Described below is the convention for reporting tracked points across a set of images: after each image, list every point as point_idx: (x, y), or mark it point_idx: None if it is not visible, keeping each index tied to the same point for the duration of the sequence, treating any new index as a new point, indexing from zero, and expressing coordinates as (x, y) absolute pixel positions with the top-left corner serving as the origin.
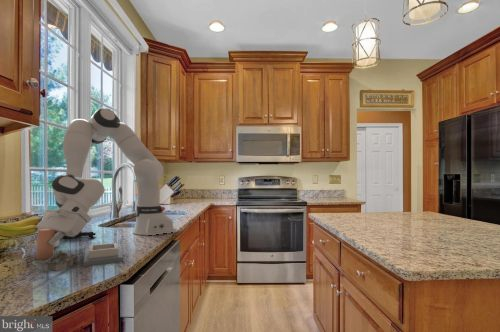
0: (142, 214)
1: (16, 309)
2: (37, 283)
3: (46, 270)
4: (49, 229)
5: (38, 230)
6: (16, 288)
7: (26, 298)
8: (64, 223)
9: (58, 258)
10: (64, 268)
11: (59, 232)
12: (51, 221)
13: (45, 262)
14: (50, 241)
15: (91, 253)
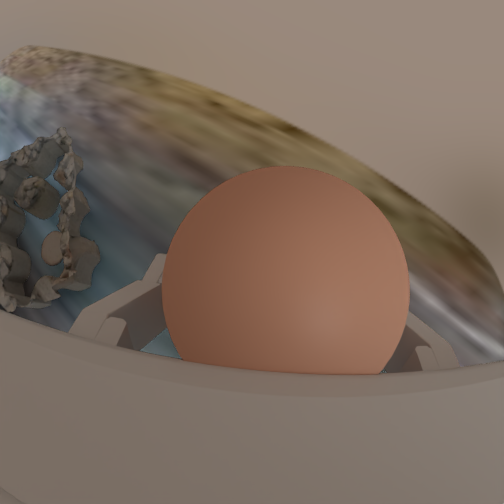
0: None
1: (12, 54)
2: (29, 99)
3: (58, 155)
4: (269, 327)
5: (346, 191)
6: (56, 66)
7: (15, 68)
8: (13, 449)
9: (31, 197)
10: (12, 195)
11: (77, 334)
12: (475, 484)
13: (67, 154)
14: (155, 261)
15: None
